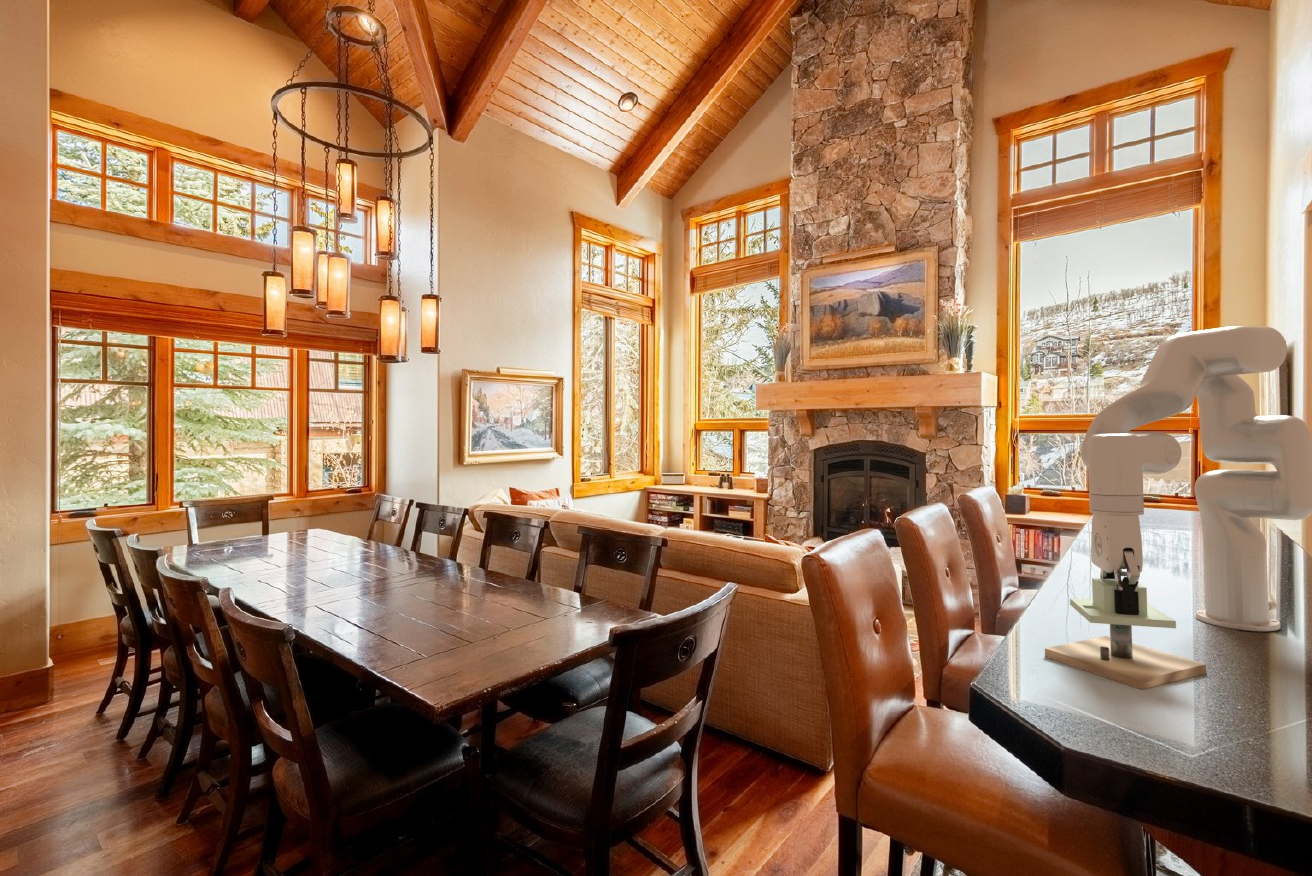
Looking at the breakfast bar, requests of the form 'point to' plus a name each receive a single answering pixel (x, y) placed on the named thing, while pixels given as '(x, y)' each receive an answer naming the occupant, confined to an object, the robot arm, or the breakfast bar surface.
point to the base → (1126, 663)
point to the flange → (1104, 607)
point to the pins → (1119, 642)
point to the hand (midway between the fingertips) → (1119, 608)
